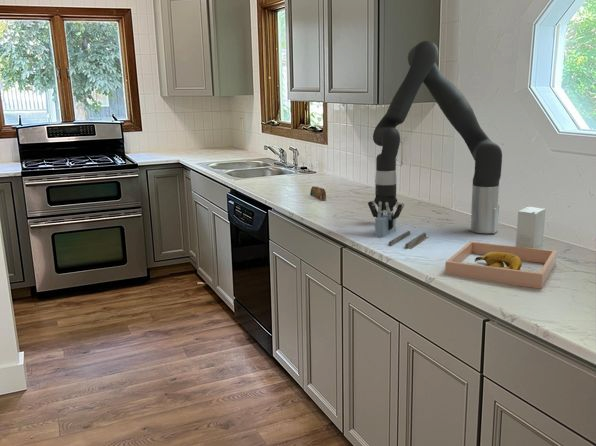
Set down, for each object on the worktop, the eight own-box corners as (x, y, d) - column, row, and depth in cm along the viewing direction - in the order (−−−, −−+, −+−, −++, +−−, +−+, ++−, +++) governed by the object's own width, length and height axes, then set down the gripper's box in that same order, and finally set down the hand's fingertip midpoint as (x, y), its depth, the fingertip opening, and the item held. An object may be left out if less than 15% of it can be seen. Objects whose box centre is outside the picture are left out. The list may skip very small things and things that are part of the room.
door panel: (395, 233, 214) (395, 213, 213) (382, 241, 204) (383, 219, 203) (388, 233, 216) (388, 212, 214) (375, 240, 206) (375, 218, 204)
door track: (428, 239, 205) (429, 233, 204) (411, 252, 190) (411, 244, 189) (405, 237, 209) (405, 230, 209) (385, 248, 194) (385, 241, 194)
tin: (309, 201, 284) (309, 185, 282) (315, 201, 285) (315, 184, 283) (321, 207, 270) (320, 189, 268) (327, 206, 271) (327, 189, 269)
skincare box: (524, 250, 189) (527, 205, 185) (543, 253, 185) (546, 208, 181) (514, 255, 183) (516, 210, 179) (533, 258, 179) (536, 212, 175)
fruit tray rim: (555, 263, 173) (556, 250, 172) (541, 288, 152) (542, 274, 151) (469, 253, 187) (470, 241, 186) (445, 275, 165) (445, 261, 164)
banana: (495, 261, 178) (496, 243, 176) (538, 279, 160) (539, 260, 159) (452, 267, 173) (453, 248, 172) (491, 286, 155) (492, 266, 154)
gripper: (408, 182, 205) (407, 228, 209) (372, 180, 212) (372, 225, 216) (400, 185, 199) (399, 233, 203) (363, 183, 206) (363, 229, 210)
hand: (385, 228), depth 209 cm, fingers closed on door panel, 3 cm apart
